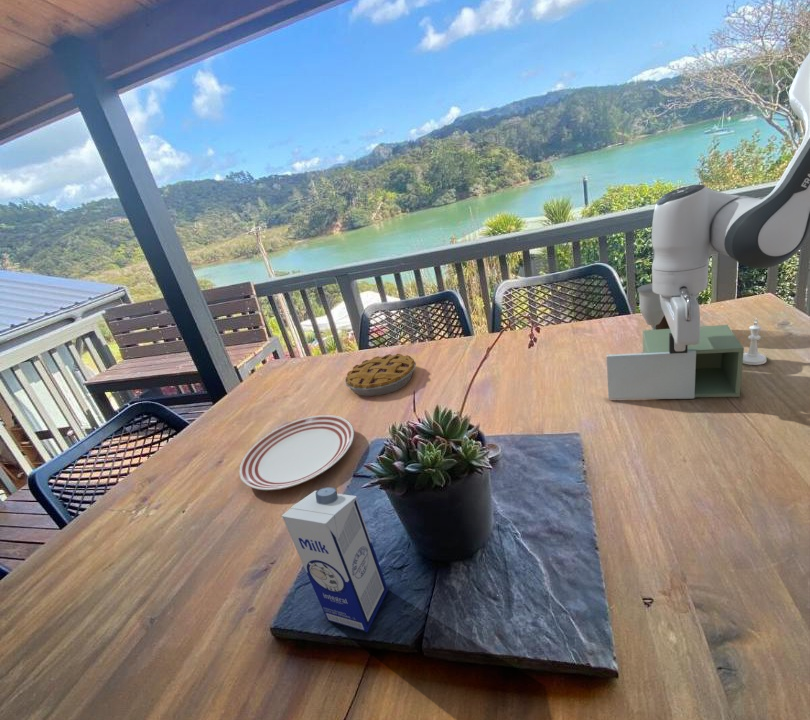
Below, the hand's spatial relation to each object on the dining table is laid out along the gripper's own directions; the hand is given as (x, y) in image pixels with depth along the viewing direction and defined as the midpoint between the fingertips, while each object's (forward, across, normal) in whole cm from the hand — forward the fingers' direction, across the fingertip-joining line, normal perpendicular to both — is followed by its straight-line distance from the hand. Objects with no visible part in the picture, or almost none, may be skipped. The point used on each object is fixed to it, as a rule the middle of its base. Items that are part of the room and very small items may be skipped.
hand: (678, 347), depth 86 cm
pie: (+12, +13, +75) cm, 77 cm away
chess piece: (+12, +17, -17) cm, 27 cm away
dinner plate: (+12, -25, +80) cm, 85 cm away
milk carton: (+12, -57, +48) cm, 76 cm away
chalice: (+12, +21, +2) cm, 24 cm away
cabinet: (+12, +7, -3) cm, 14 cm away
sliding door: (+12, 0, +5) cm, 13 cm away
